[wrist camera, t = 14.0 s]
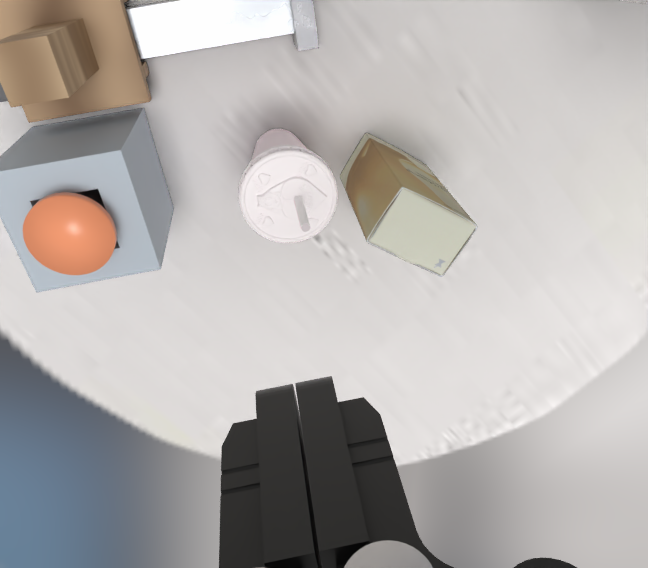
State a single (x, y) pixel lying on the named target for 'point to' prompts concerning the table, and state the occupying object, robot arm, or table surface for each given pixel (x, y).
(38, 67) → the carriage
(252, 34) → the rail
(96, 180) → the grey button box
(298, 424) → the robot arm
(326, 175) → the smoothie
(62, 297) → the table surface
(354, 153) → the skincare box
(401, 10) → the table surface
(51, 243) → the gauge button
